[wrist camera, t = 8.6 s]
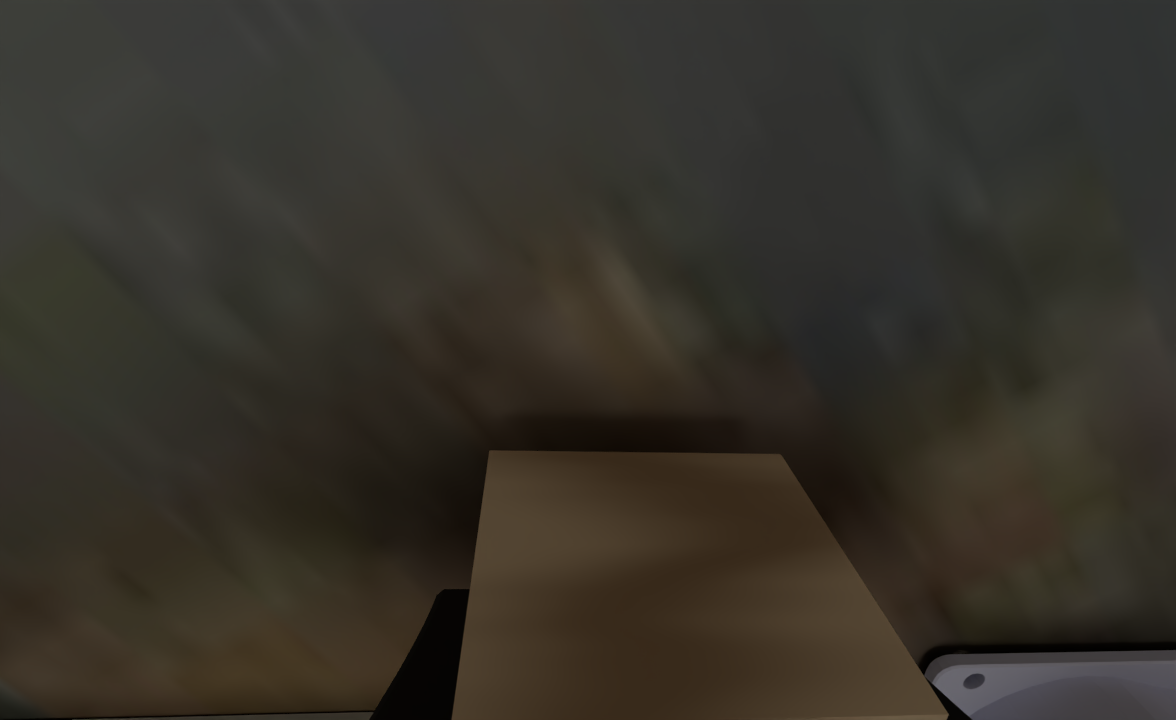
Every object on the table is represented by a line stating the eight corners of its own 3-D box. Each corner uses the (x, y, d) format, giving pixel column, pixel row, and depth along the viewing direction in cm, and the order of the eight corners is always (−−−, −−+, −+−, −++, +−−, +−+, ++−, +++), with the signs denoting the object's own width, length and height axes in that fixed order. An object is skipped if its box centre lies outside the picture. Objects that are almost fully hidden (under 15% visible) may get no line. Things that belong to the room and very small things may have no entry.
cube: (780, 454, 11) (948, 714, 7) (738, 665, 13) (844, 978, 8) (488, 450, 11) (450, 725, 6) (490, 669, 13) (462, 1001, 8)
